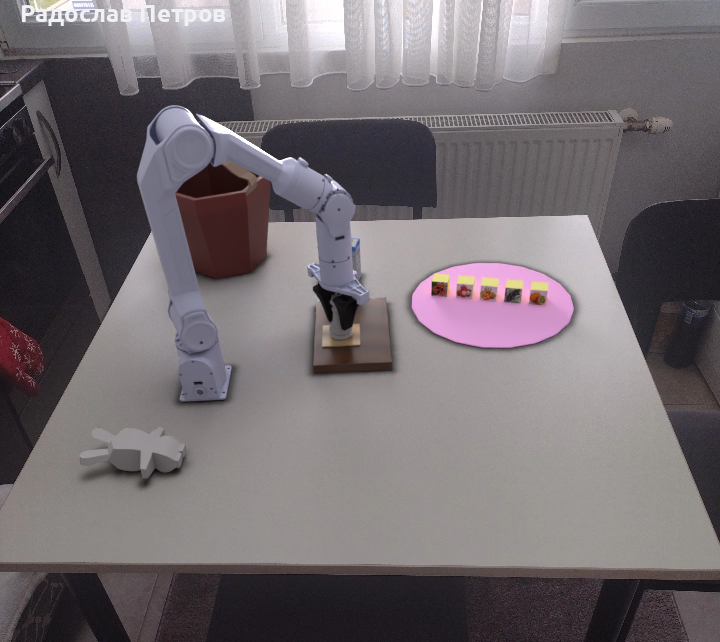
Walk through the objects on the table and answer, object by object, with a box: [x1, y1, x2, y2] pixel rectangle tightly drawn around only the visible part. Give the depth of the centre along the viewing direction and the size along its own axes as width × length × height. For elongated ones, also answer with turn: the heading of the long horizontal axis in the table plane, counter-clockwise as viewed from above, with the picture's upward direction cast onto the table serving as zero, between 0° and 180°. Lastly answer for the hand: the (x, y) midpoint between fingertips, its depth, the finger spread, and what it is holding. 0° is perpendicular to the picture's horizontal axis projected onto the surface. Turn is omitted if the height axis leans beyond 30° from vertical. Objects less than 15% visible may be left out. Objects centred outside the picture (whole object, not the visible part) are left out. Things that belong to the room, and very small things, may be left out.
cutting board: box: [312, 296, 393, 374], centre depth 131 cm, size 27×14×2 cm, turn 1°
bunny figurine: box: [79, 426, 187, 480], centre depth 106 cm, size 10×5×15 cm
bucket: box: [175, 161, 271, 280], centre depth 145 cm, size 24×22×25 cm
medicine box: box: [351, 237, 362, 282], centre depth 143 cm, size 8×4×9 cm, turn 80°
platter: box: [411, 262, 575, 349], centre depth 136 cm, size 32×32×3 cm
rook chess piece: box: [329, 293, 353, 340], centre depth 125 cm, size 4×4×8 cm
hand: (340, 323), depth 126 cm, fingers closed on rook chess piece, 3 cm apart
